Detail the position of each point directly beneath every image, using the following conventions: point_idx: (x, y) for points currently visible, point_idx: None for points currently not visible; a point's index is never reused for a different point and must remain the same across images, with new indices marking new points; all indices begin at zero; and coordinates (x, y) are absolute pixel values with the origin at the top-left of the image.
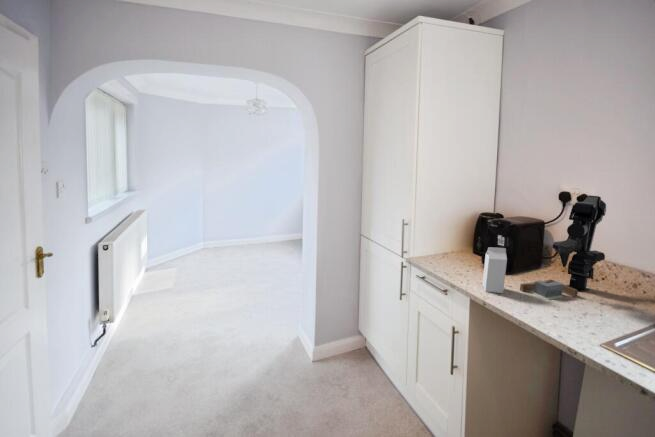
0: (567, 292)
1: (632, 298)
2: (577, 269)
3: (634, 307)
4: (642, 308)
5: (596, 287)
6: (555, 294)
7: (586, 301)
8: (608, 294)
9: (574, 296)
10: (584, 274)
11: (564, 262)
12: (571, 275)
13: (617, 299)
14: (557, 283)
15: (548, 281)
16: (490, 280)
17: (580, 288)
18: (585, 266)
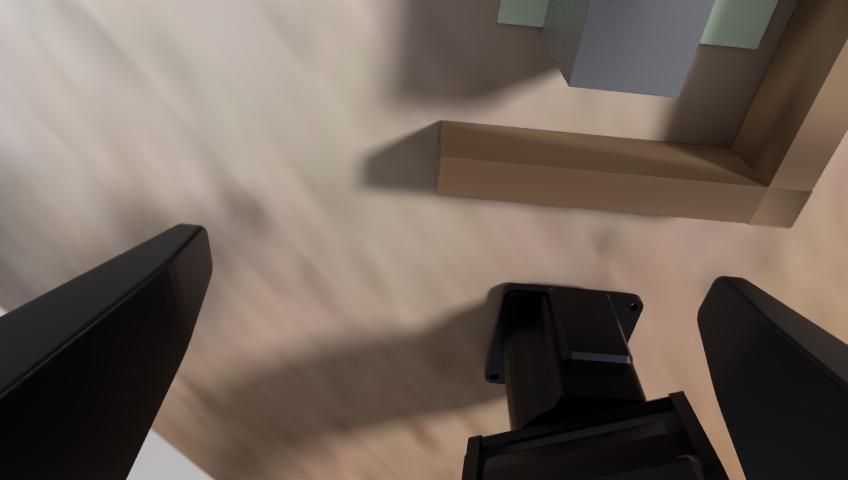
0: (530, 139)
1: (273, 453)
2: (587, 464)
3: None
4: None
5: None
6: None
7: (324, 134)
8: (373, 404)
9: (441, 124)
10: (182, 224)
11: (778, 371)
12: (638, 392)
13: (285, 377)
14: (635, 20)
15: (798, 138)
16: None
17: (518, 324)
18: (6, 352)
